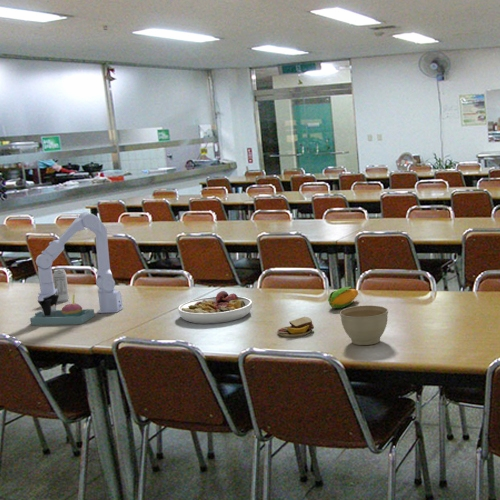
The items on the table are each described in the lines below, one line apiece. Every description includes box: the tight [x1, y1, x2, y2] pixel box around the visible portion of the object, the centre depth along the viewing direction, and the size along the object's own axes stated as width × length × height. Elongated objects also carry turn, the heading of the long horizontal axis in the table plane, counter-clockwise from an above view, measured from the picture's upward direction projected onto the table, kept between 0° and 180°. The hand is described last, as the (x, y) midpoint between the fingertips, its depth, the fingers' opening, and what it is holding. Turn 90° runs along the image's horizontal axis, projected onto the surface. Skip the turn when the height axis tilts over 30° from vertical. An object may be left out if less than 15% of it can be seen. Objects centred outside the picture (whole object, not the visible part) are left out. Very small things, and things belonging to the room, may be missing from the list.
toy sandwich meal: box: [277, 316, 315, 338], centre depth 283 cm, size 12×14×5 cm
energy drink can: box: [52, 268, 70, 303], centre depth 369 cm, size 6×6×15 cm
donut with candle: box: [61, 293, 83, 317], centre depth 329 cm, size 9×8×12 cm
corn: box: [327, 286, 359, 309], centre depth 319 cm, size 7×8×20 cm
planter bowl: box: [339, 305, 389, 346], centre depth 265 cm, size 16×16×11 cm
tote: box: [29, 308, 95, 326], centre depth 330 cm, size 23×13×4 cm, turn 78°
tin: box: [41, 304, 57, 317], centre depth 331 cm, size 4×4×6 cm
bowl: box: [177, 290, 253, 325], centre depth 318 cm, size 30×30×8 cm
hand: (50, 313), depth 331 cm, fingers closed on tin, 4 cm apart
